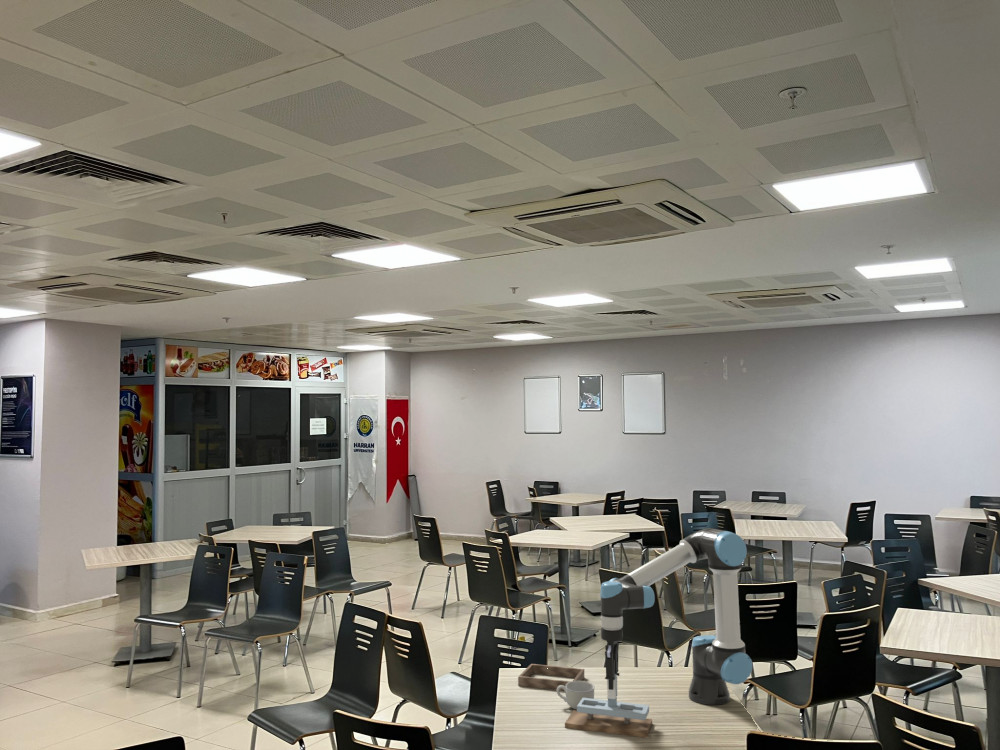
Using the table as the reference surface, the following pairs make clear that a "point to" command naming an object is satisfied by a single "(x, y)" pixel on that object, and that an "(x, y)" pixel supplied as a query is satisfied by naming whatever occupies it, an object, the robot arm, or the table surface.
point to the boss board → (608, 724)
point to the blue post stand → (613, 708)
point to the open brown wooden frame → (529, 681)
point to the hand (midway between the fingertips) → (612, 696)
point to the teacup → (576, 692)
